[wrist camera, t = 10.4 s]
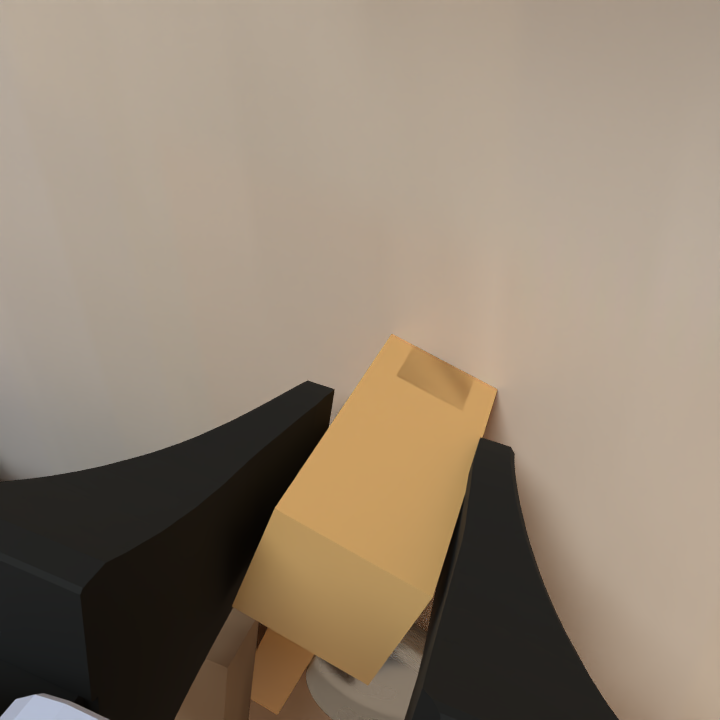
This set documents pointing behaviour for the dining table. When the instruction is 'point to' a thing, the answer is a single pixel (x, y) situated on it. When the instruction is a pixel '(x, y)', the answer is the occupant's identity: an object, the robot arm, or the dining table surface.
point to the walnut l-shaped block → (225, 674)
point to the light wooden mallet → (365, 522)
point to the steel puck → (384, 693)
